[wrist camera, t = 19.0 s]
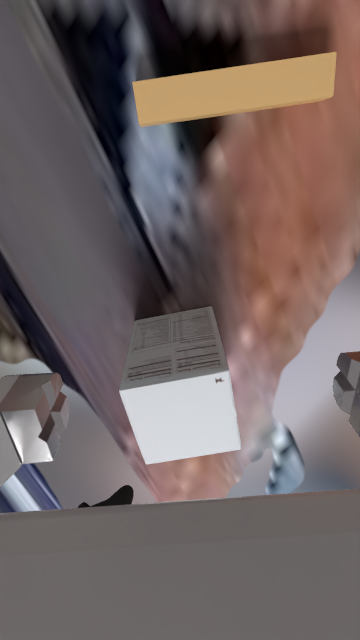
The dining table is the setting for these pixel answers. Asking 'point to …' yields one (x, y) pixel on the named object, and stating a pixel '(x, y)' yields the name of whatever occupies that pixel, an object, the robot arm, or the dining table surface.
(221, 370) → the supplement box
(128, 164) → the dining table surface
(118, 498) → the gaming controller
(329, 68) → the ochre bar
